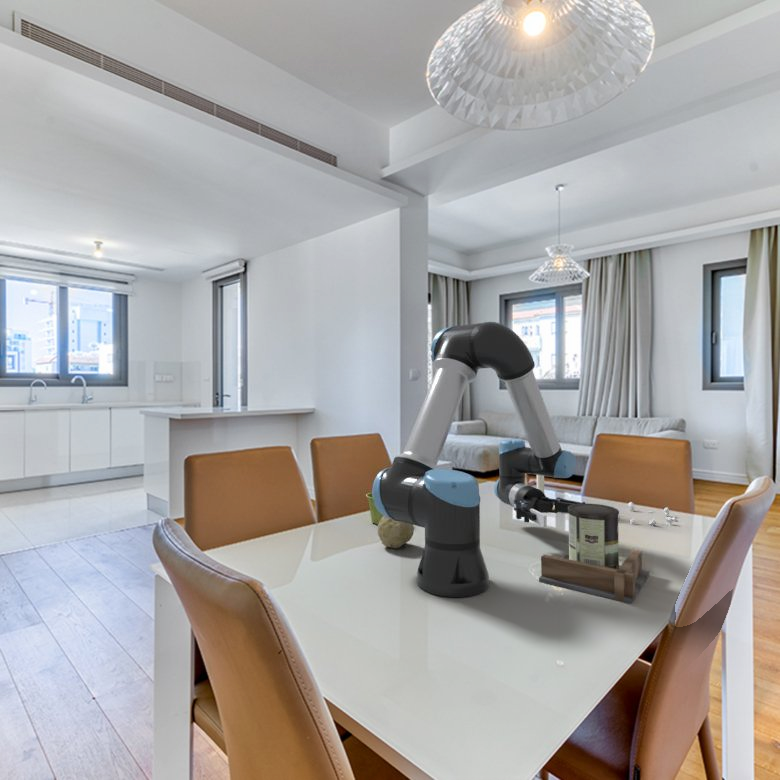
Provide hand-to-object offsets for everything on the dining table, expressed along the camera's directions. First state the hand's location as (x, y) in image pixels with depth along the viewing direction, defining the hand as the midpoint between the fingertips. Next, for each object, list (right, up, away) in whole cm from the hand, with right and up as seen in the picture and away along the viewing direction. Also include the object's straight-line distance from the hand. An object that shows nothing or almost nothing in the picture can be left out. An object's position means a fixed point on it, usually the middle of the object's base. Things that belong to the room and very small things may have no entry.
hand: (571, 519), depth 113 cm
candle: (+9, -11, +52) cm, 54 cm away
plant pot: (-45, -11, +37) cm, 60 cm away
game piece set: (+37, -11, +39) cm, 55 cm away
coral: (-42, -11, +14) cm, 46 cm away
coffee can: (+2, -10, -8) cm, 13 cm away
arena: (+2, -10, -8) cm, 13 cm away
